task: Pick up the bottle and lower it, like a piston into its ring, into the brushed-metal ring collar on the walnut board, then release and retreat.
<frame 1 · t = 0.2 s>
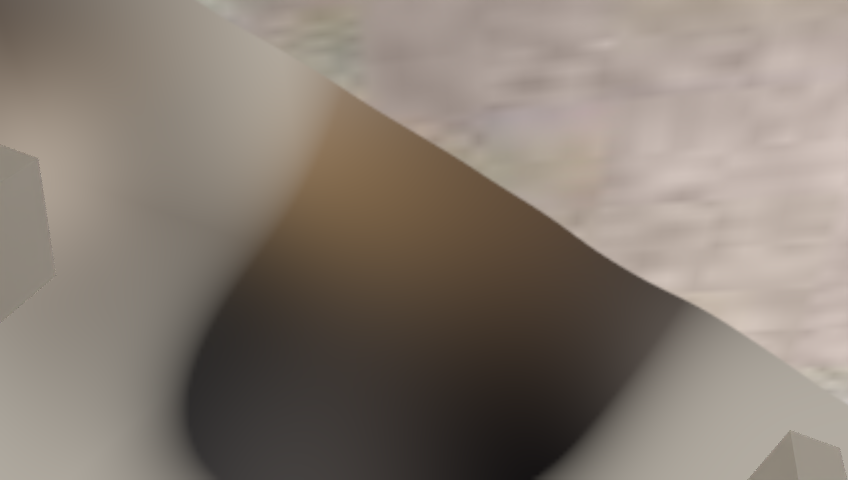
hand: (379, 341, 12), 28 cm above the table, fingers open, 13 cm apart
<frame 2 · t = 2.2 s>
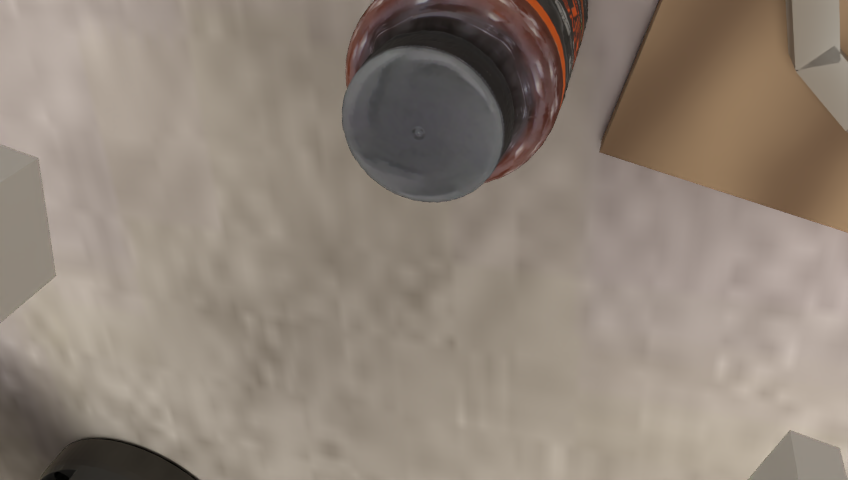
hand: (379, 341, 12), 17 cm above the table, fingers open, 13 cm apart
supplement bottle: (507, 0, 26), on the table
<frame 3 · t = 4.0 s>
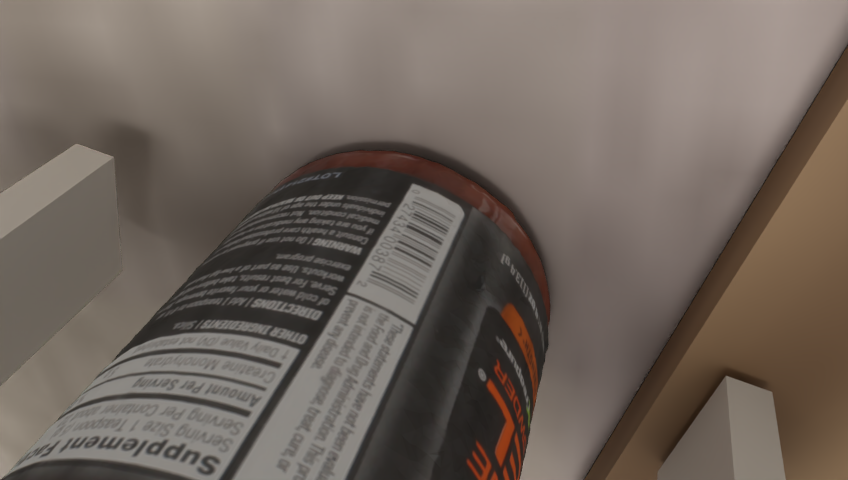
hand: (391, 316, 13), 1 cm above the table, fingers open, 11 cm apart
supplement bottle: (406, 268, 14), on the table
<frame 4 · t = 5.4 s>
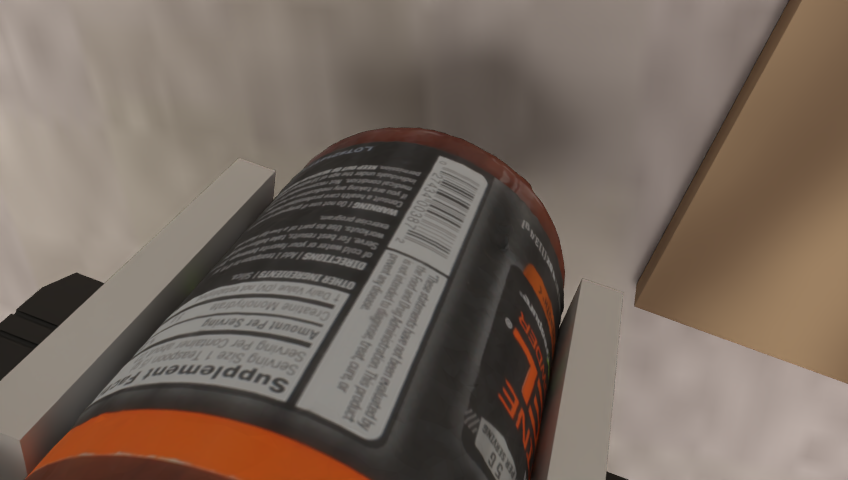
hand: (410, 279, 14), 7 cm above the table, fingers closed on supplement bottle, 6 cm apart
supplement bottle: (428, 241, 15), point 6 cm above the table, touching gripper
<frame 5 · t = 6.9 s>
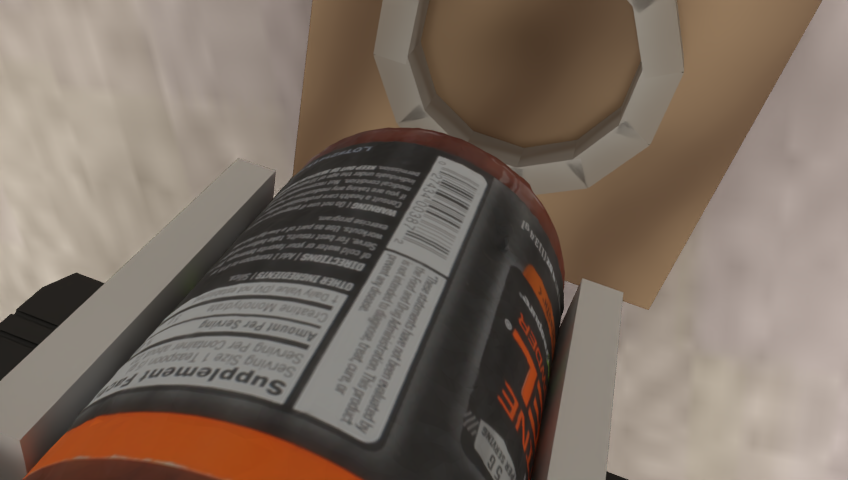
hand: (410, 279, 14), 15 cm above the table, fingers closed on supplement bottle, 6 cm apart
supplement bottle: (427, 241, 15), point 13 cm above the table, touching gripper
ring board: (532, 37, 25), on the table
when the fingers open (4 cm above the table, at t = 8.8 s): supplement bottle drops 2 cm, resting on ring board.
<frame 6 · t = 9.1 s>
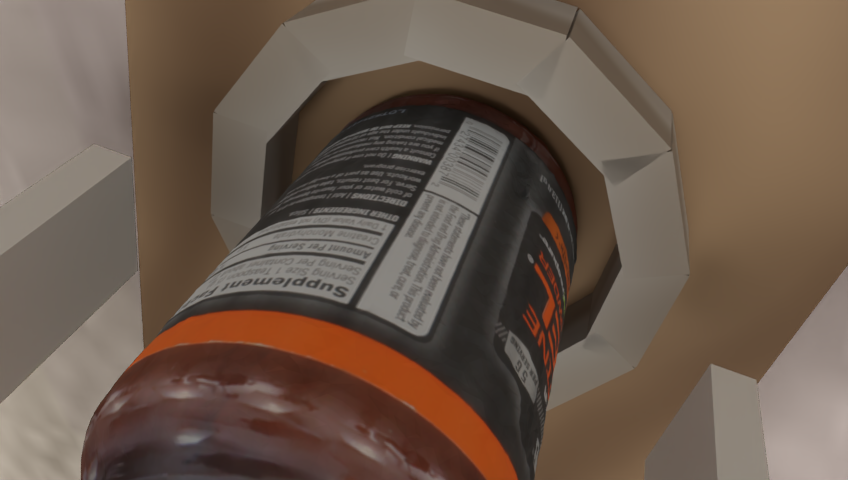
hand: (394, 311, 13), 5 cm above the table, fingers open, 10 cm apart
supplement bottle: (451, 202, 16), point 1 cm above the table, touching ring board
ring board: (458, 181, 17), on the table
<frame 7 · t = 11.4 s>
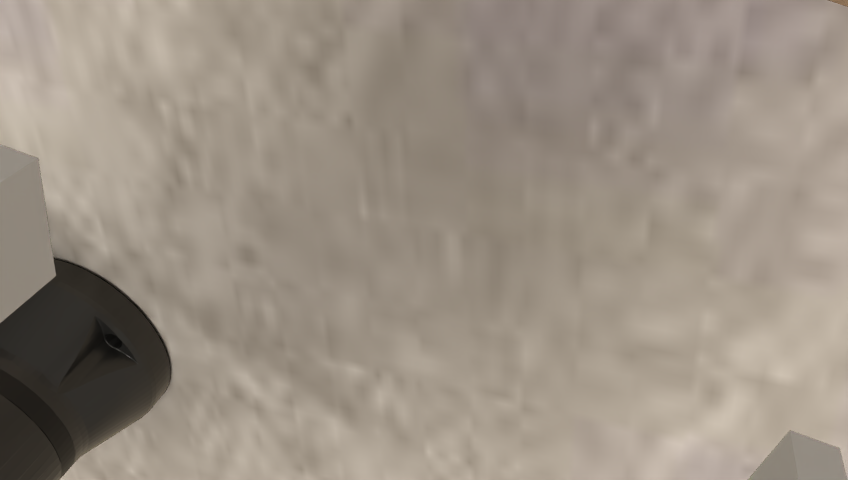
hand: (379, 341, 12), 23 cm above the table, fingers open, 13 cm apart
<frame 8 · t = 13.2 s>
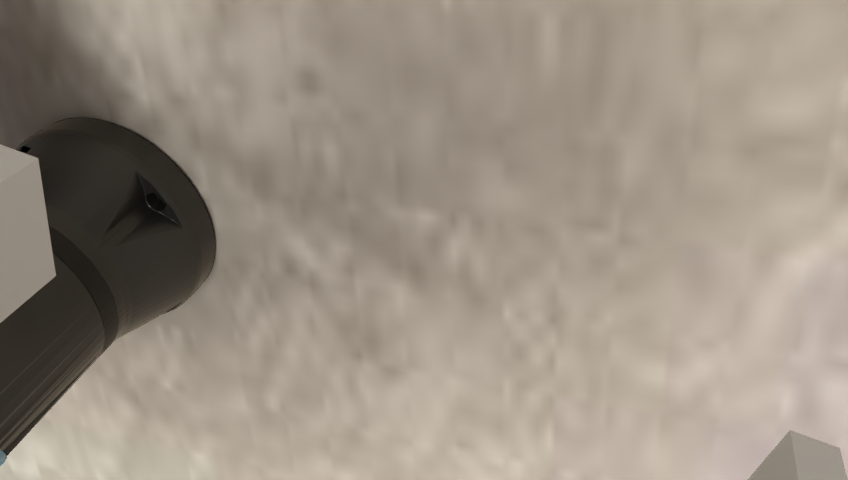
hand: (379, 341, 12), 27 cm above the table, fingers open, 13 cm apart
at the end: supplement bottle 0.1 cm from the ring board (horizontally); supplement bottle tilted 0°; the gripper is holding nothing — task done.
